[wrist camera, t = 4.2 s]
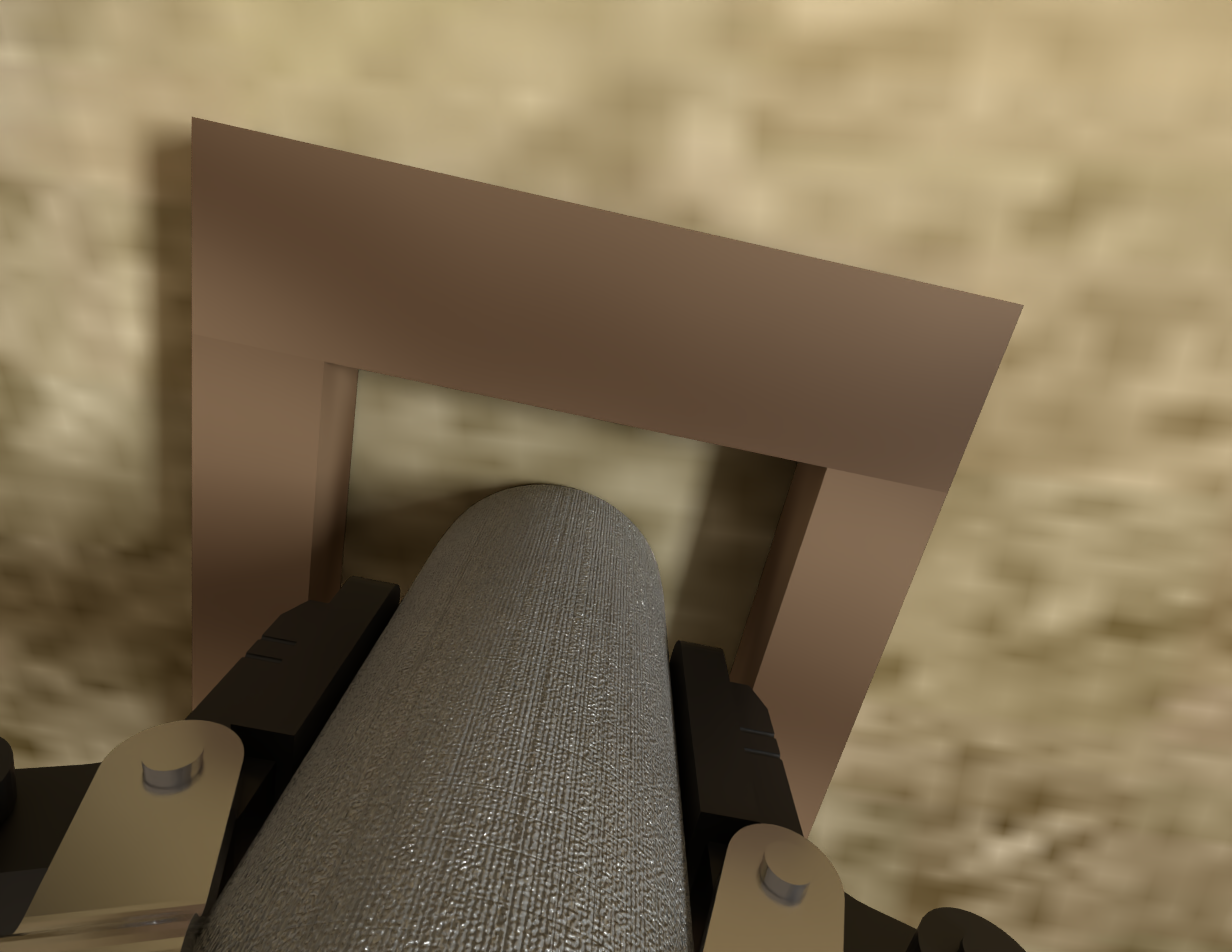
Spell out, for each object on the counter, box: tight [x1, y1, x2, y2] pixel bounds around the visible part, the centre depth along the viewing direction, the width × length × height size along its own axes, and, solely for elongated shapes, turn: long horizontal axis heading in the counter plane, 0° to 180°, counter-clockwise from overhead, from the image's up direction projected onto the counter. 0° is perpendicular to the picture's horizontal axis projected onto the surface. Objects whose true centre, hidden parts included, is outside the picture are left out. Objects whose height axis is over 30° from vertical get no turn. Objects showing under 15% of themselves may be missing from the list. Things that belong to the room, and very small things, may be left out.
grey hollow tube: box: [192, 484, 694, 952], centre depth 9 cm, size 4×4×10 cm
